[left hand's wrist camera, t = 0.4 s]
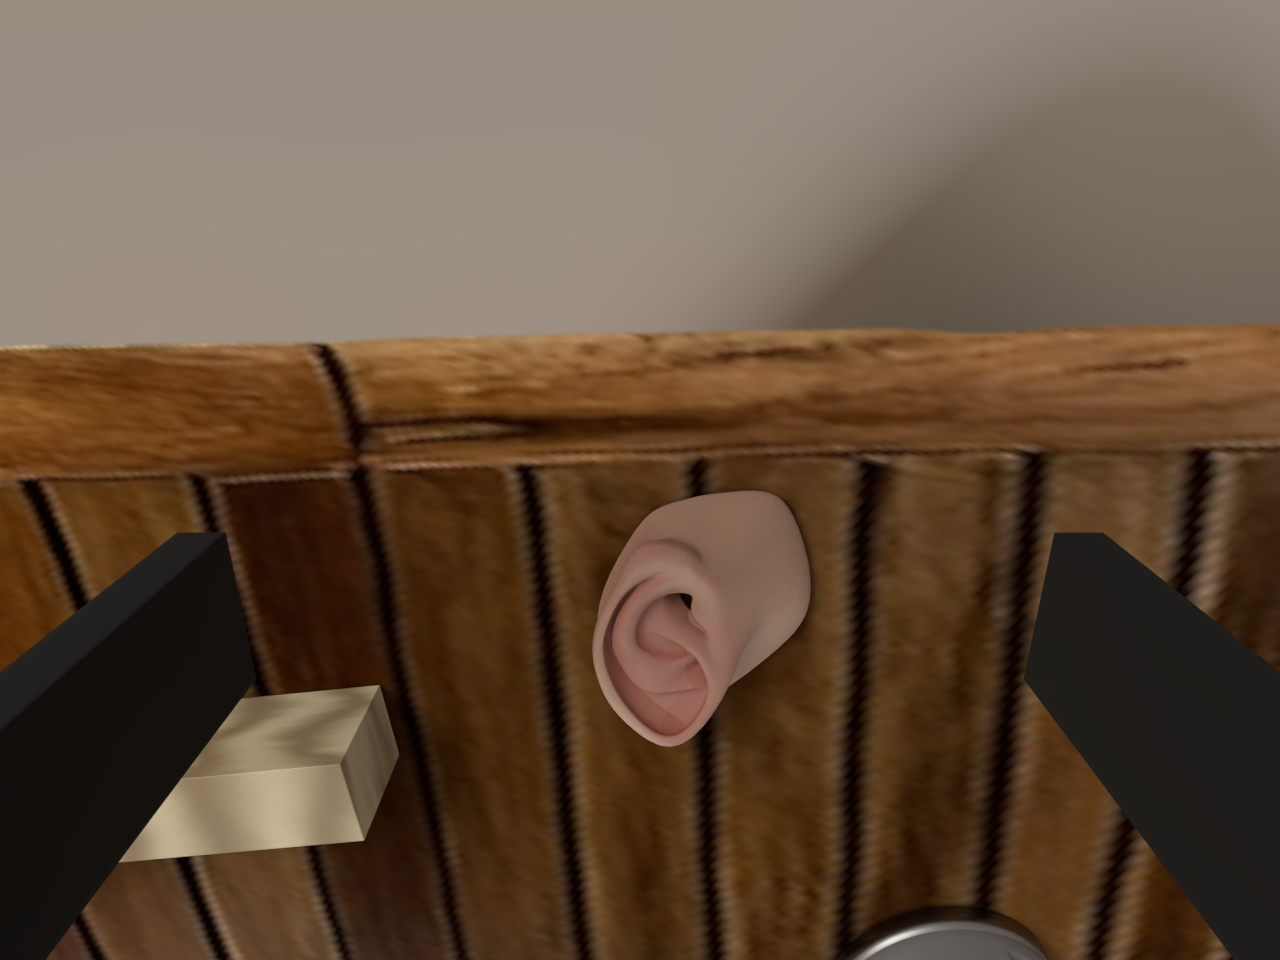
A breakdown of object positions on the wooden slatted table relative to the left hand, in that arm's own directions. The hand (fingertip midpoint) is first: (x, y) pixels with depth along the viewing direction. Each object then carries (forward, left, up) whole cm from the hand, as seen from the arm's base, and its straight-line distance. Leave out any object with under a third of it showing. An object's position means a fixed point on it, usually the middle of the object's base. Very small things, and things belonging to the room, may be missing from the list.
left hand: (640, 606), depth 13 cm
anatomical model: (-15, -1, -27) cm, 31 cm away
